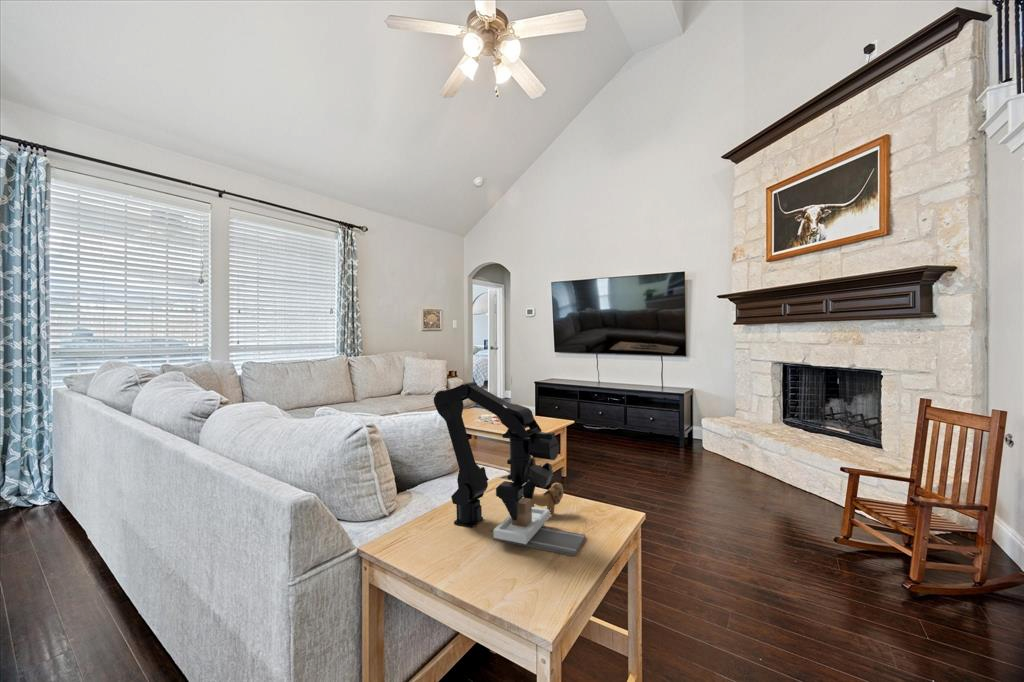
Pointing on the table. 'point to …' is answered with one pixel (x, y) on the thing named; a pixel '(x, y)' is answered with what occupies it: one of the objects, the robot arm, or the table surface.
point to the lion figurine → (549, 497)
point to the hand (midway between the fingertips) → (521, 513)
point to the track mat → (554, 541)
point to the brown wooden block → (524, 513)
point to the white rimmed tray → (519, 532)
